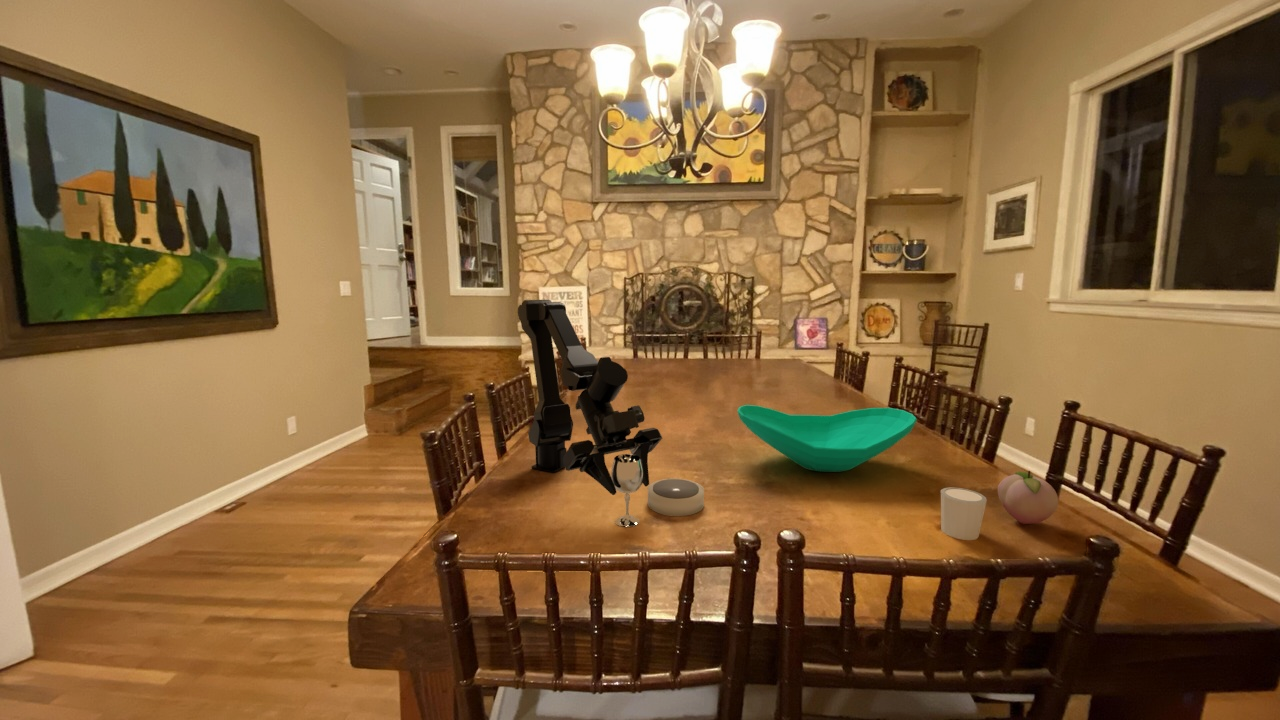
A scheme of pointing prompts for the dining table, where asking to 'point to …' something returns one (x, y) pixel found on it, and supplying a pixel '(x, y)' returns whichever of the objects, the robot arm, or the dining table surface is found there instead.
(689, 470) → the dining table surface
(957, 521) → the white cup
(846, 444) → the table top decor
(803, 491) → the dining table surface
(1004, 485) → the decorative fruit
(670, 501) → the disc
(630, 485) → the wineglass
